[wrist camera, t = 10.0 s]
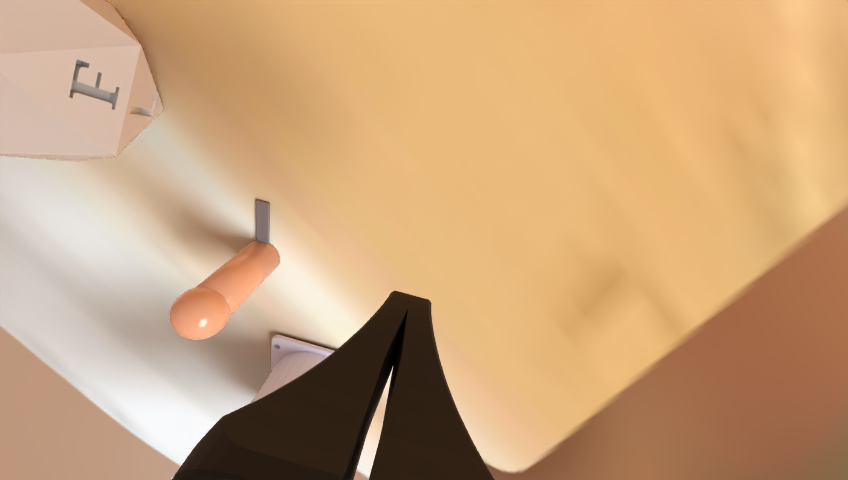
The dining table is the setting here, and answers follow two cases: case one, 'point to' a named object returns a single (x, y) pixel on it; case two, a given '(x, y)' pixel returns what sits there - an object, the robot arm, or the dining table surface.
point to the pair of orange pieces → (226, 285)
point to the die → (71, 81)
